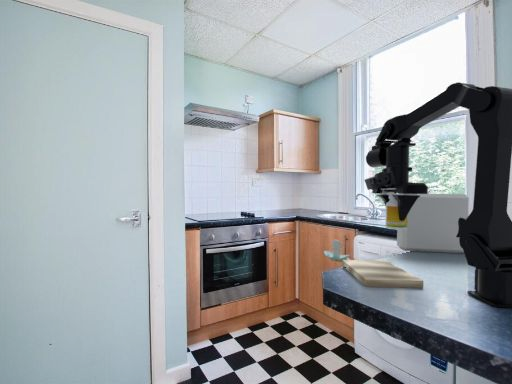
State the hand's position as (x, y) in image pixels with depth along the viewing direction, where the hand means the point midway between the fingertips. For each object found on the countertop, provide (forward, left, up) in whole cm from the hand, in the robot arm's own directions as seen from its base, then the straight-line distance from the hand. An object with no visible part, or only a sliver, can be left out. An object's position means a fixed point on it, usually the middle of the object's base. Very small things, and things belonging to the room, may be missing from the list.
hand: (396, 219), depth 74 cm
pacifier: (+3, +15, -13) cm, 20 cm away
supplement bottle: (0, 0, -3) cm, 3 cm away
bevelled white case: (+19, -22, -13) cm, 32 cm away
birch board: (-11, +10, -12) cm, 19 cm away
